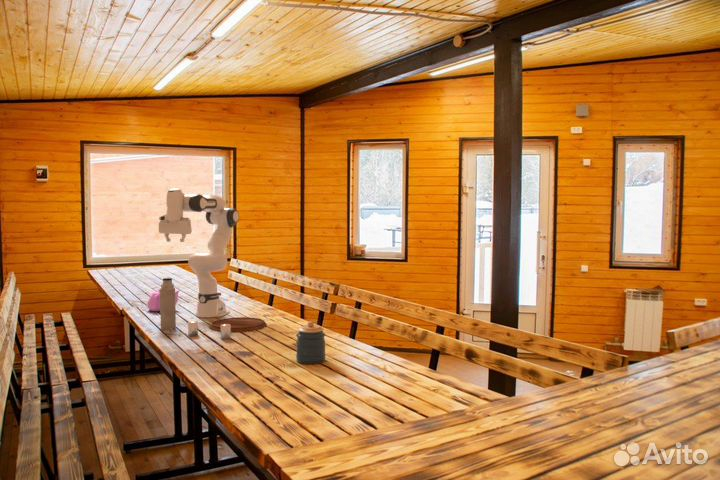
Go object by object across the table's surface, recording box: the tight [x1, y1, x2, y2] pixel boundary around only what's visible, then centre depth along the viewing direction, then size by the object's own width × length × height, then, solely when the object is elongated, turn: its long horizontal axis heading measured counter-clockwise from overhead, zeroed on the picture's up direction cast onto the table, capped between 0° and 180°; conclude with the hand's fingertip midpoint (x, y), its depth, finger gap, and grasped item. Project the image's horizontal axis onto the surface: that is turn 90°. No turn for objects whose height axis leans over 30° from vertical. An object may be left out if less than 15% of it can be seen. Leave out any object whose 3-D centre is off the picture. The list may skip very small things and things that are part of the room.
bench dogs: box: [187, 320, 232, 340], centre depth 292 cm, size 5×25×7 cm, turn 70°
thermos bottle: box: [159, 277, 177, 330], centre depth 312 cm, size 8×8×28 cm
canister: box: [295, 321, 327, 365], centre depth 246 cm, size 13×13×18 cm
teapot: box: [146, 288, 181, 312], centre depth 366 cm, size 22×22×14 cm
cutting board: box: [208, 316, 267, 333], centre depth 318 cm, size 32×32×2 cm
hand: (175, 241), depth 317 cm, fingers open, 8 cm apart
